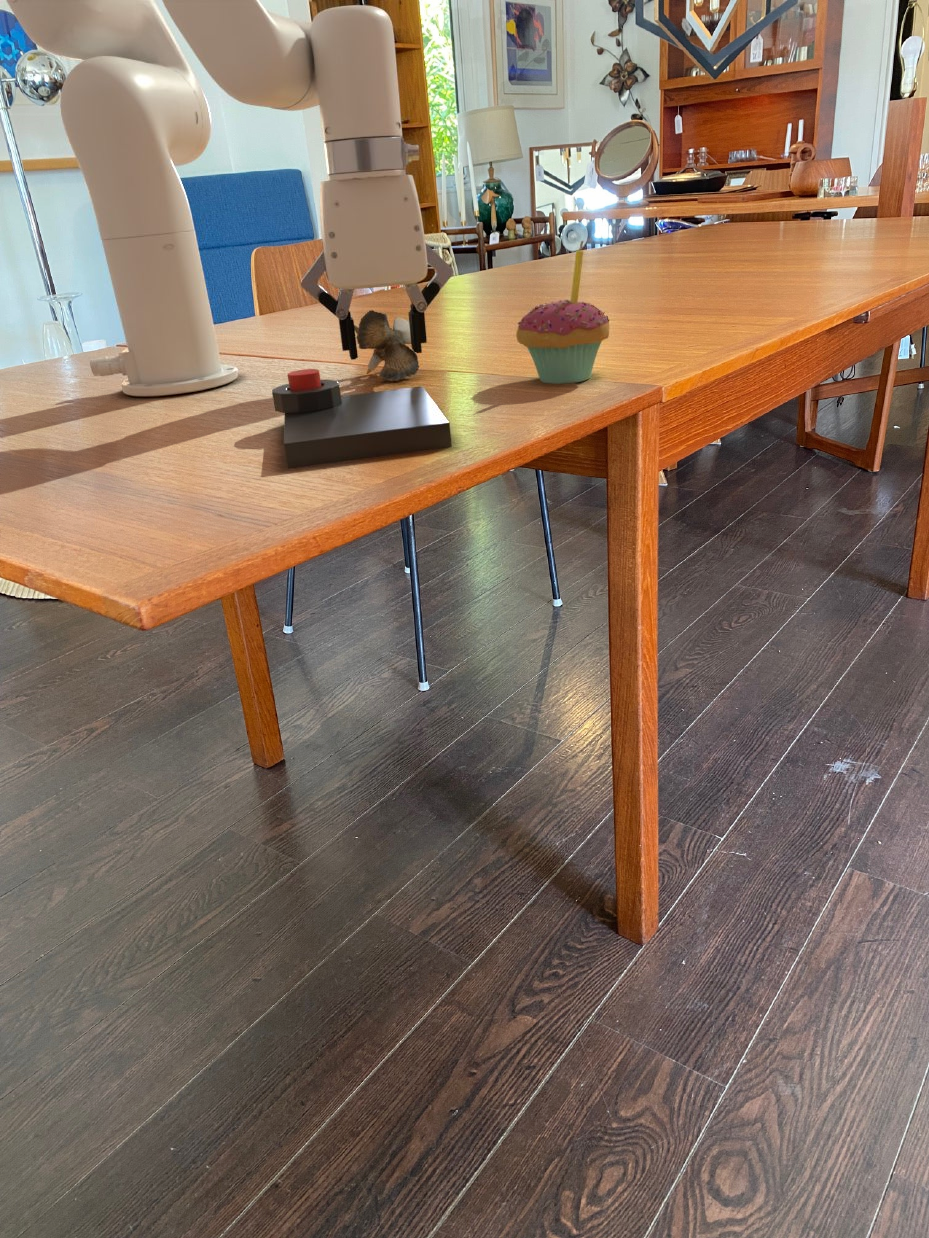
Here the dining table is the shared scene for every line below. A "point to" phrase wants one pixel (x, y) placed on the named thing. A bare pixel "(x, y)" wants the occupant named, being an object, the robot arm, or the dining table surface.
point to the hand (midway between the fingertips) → (385, 352)
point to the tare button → (304, 379)
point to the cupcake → (564, 335)
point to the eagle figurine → (387, 345)
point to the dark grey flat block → (357, 424)
